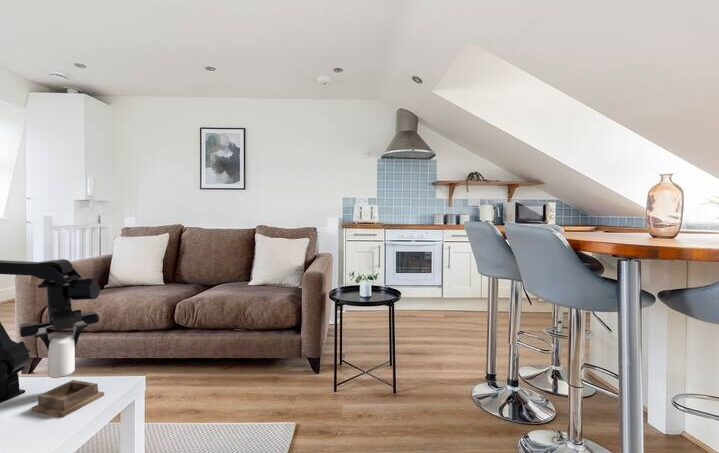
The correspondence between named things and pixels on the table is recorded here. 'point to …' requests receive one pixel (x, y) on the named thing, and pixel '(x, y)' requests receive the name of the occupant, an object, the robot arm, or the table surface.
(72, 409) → the socket
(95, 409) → the table surface
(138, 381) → the table surface
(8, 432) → the table surface
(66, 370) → the can
